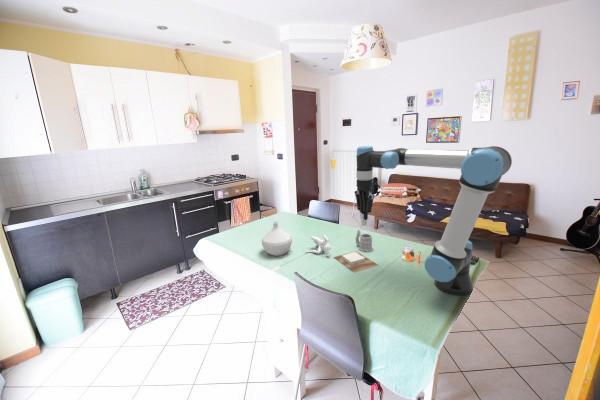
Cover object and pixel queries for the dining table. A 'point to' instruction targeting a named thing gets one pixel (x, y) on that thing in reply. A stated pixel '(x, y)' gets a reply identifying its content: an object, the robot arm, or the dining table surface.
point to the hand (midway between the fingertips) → (363, 225)
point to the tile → (353, 258)
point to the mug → (364, 242)
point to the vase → (276, 241)
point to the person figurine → (321, 245)
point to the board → (358, 266)
